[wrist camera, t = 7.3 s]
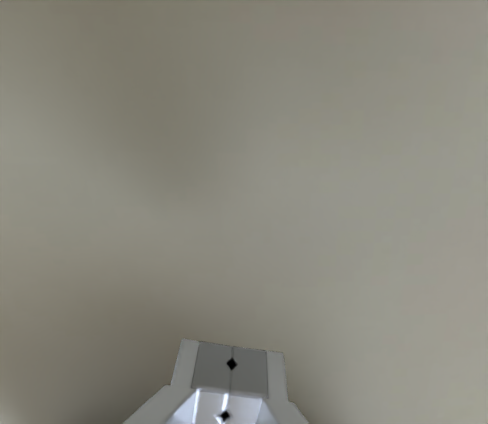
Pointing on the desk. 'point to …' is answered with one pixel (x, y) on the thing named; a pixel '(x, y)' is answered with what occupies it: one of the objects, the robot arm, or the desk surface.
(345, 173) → the desk surface
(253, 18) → the desk surface
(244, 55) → the desk surface
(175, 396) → the robot arm
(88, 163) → the desk surface
